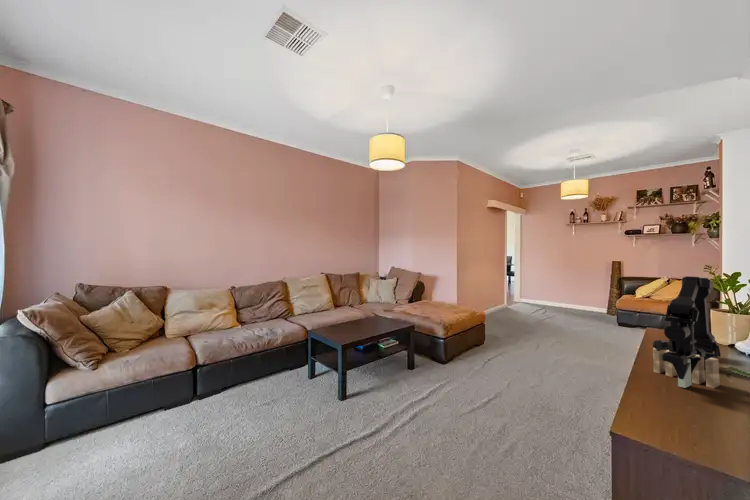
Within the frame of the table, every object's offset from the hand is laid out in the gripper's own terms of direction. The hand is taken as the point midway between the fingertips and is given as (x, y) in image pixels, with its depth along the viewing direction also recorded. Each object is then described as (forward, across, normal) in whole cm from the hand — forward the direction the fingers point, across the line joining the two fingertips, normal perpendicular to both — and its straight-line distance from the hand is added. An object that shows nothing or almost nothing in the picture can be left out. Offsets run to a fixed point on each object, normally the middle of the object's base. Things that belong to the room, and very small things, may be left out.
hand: (684, 377), depth 117 cm
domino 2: (+4, -10, -8) cm, 13 cm away
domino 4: (+4, -10, 0) cm, 10 cm away
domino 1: (+4, -10, -12) cm, 15 cm away
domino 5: (+4, -10, +4) cm, 11 cm away
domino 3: (+3, 0, 0) cm, 3 cm away
